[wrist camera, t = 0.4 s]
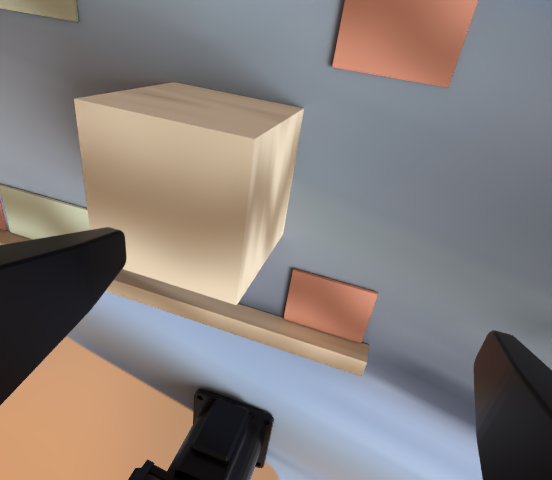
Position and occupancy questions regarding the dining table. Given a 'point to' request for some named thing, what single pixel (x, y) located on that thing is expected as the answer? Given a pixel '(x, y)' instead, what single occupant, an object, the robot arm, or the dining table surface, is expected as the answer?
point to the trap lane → (304, 286)
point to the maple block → (189, 181)
